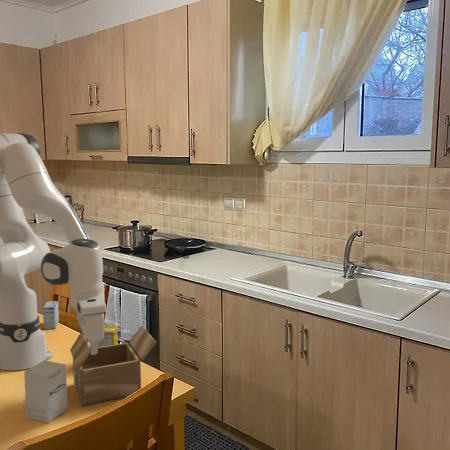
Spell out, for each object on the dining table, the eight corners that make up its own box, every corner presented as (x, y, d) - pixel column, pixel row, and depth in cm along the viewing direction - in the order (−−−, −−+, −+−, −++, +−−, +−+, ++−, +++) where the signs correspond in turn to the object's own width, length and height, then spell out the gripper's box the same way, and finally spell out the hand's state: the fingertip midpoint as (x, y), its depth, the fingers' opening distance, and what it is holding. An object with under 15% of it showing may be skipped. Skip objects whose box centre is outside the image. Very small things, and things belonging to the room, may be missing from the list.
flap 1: (71, 350, 138) (70, 350, 138) (82, 332, 139) (81, 331, 139) (79, 370, 126) (77, 369, 126) (91, 349, 127) (89, 349, 126)
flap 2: (141, 325, 146) (143, 326, 146) (128, 341, 145) (130, 342, 145) (155, 341, 134) (156, 342, 134) (141, 359, 133) (142, 360, 133)
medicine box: (47, 322, 189) (46, 301, 188) (59, 321, 190) (58, 300, 189) (43, 329, 182) (42, 307, 180) (55, 329, 183) (54, 307, 181)
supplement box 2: (118, 357, 158) (117, 325, 157) (114, 365, 153) (113, 332, 151) (100, 357, 158) (99, 325, 157) (95, 365, 152) (94, 332, 151)
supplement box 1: (48, 424, 120) (46, 376, 118) (25, 417, 122) (22, 370, 120) (68, 409, 126) (66, 363, 124) (46, 403, 129) (44, 359, 127)
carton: (74, 383, 140) (72, 351, 139) (128, 373, 147) (127, 342, 145) (81, 407, 128) (80, 371, 126) (141, 394, 134) (140, 360, 133)
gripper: (70, 290, 139) (72, 336, 141) (82, 311, 121) (84, 363, 123) (92, 288, 142) (94, 333, 144) (107, 307, 123) (109, 358, 125)
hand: (90, 347), depth 133 cm, fingers open, 8 cm apart
